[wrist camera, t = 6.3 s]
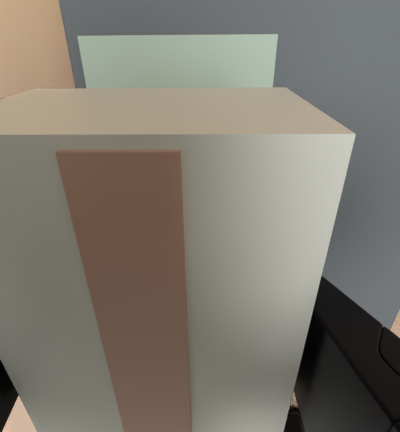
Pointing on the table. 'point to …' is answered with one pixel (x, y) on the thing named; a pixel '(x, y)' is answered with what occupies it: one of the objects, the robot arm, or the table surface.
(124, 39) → the rubber mat
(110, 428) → the card deck
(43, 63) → the table surface
